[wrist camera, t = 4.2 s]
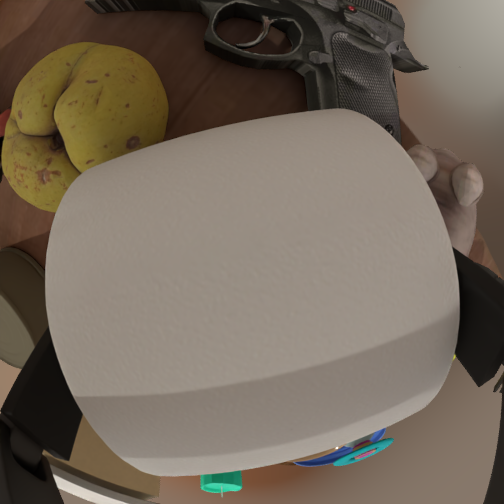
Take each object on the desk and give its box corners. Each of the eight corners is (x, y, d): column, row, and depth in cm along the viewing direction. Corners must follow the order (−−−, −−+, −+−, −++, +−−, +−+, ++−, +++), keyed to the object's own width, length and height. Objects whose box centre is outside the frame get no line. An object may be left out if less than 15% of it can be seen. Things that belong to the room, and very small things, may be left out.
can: (18, 332, 26) (-4, 365, 20) (-20, 253, 21) (-52, 281, 15) (78, 331, 26) (56, 374, 20) (35, 236, 21) (-5, 268, 15)
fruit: (43, 96, 16) (-36, 98, 7) (164, 38, 15) (121, -17, 6) (74, 208, 20) (6, 259, 11) (196, 165, 20) (172, 197, 11)
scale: (66, 386, 31) (35, 476, 16) (77, 348, 28) (31, 462, 12) (146, 424, 35) (134, 515, 20) (174, 395, 32) (164, 512, 17)
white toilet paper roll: (183, 268, 24) (303, 238, 24) (214, 453, 15) (366, 414, 15) (96, 111, 11) (306, 57, 11) (41, 508, 2) (543, 382, 2)
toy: (300, 371, 19) (366, 299, 30) (383, 420, 15) (420, 327, 26) (393, -23, 8) (426, 64, 19) (511, 6, 3) (491, 85, 14)
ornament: (374, 434, 39) (394, 412, 34) (381, 452, 36) (404, 433, 30) (321, 451, 38) (334, 433, 33) (327, 471, 34) (342, 457, 29)
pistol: (57, 145, 17) (111, -34, 11) (381, 201, 22) (414, 29, 16) (39, 148, 15) (102, -47, 8) (398, 210, 20) (431, 23, 13)
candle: (200, 439, 38) (200, 500, 27) (201, 423, 36) (200, 492, 25) (236, 440, 39) (240, 500, 28) (240, 425, 37) (246, 493, 26)
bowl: (355, 397, 36) (362, 414, 33) (391, 418, 43) (397, 431, 40) (268, 444, 40) (271, 460, 37) (320, 457, 47) (324, 470, 44)
